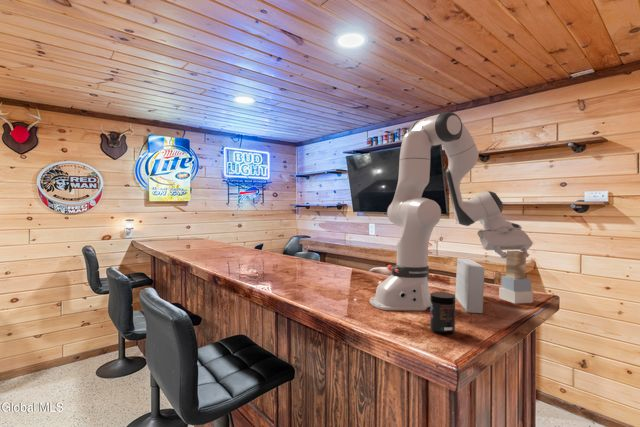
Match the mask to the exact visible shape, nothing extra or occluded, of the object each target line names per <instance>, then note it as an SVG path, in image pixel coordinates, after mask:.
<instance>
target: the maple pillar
mask: <svg viewBox="0 0 640 427" xmlns="http://www.w3.org/2000/svg"><path fill="white" fill-rule="evenodd" d="M506 254H507V257H506V258H505V259H506V261H505V262H506V263H505V265H506V266H505V267H506V269H505V276H507V277H510V278H514V279H525V278H527V277H526V276H527V275H526V272H527V270H526V268H527V258H526V252H523V251H521V250H506Z"/></svg>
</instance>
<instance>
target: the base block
mask: <svg viewBox="0 0 640 427" xmlns="http://www.w3.org/2000/svg"><path fill="white" fill-rule="evenodd" d="M498 298H499V299H501V300H504V301H507V302H510V303H512V304H514V305H515V304H516V305H517V304H531V303H532V302H533V303H534V291H533V290H531V291H522V292H513V291H510V290H508V289H505V288H502V286H499V287H498Z"/></svg>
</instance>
